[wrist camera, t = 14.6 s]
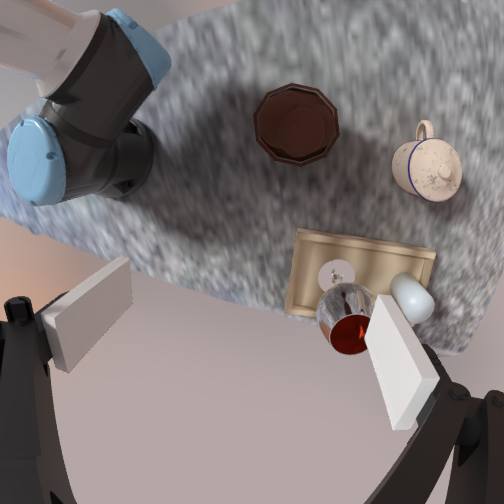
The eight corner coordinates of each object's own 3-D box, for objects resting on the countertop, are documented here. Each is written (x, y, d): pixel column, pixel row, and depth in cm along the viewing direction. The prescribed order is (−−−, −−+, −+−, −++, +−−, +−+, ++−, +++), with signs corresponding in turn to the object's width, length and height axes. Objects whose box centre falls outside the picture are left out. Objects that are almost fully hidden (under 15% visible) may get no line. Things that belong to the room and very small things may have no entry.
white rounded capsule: (386, 297, 49) (401, 322, 41) (393, 270, 48) (410, 292, 39) (410, 299, 49) (428, 324, 40) (418, 273, 47) (438, 295, 39)
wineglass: (357, 299, 50) (380, 362, 33) (310, 299, 51) (315, 363, 34) (362, 254, 48) (393, 303, 31) (313, 253, 49) (321, 303, 32)
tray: (285, 305, 54) (284, 313, 51) (297, 227, 49) (297, 232, 46) (408, 319, 51) (413, 326, 48) (429, 248, 47) (436, 253, 44)
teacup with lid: (437, 195, 44) (471, 206, 33) (390, 194, 45) (416, 205, 34) (435, 125, 41) (470, 119, 30) (387, 121, 42) (413, 111, 31)
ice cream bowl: (342, 119, 43) (363, 103, 29) (307, 177, 47) (312, 185, 33) (284, 85, 43) (279, 55, 29) (249, 143, 46) (229, 137, 32)
